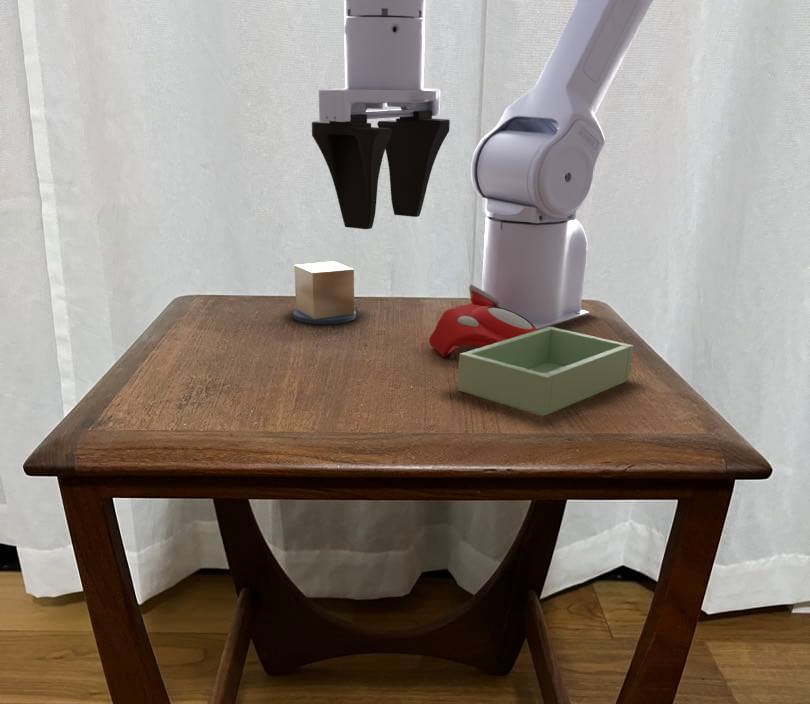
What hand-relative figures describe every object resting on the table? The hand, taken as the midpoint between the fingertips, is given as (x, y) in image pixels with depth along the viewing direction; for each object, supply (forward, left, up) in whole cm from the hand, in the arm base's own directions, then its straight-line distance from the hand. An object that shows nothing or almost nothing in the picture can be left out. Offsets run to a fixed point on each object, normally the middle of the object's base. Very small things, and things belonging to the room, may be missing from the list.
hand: (383, 221), depth 68 cm
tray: (+1, +17, -9) cm, 20 cm away
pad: (-2, -9, -9) cm, 13 cm away
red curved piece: (-5, +8, -10) cm, 13 cm away
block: (-2, -9, -9) cm, 13 cm away
